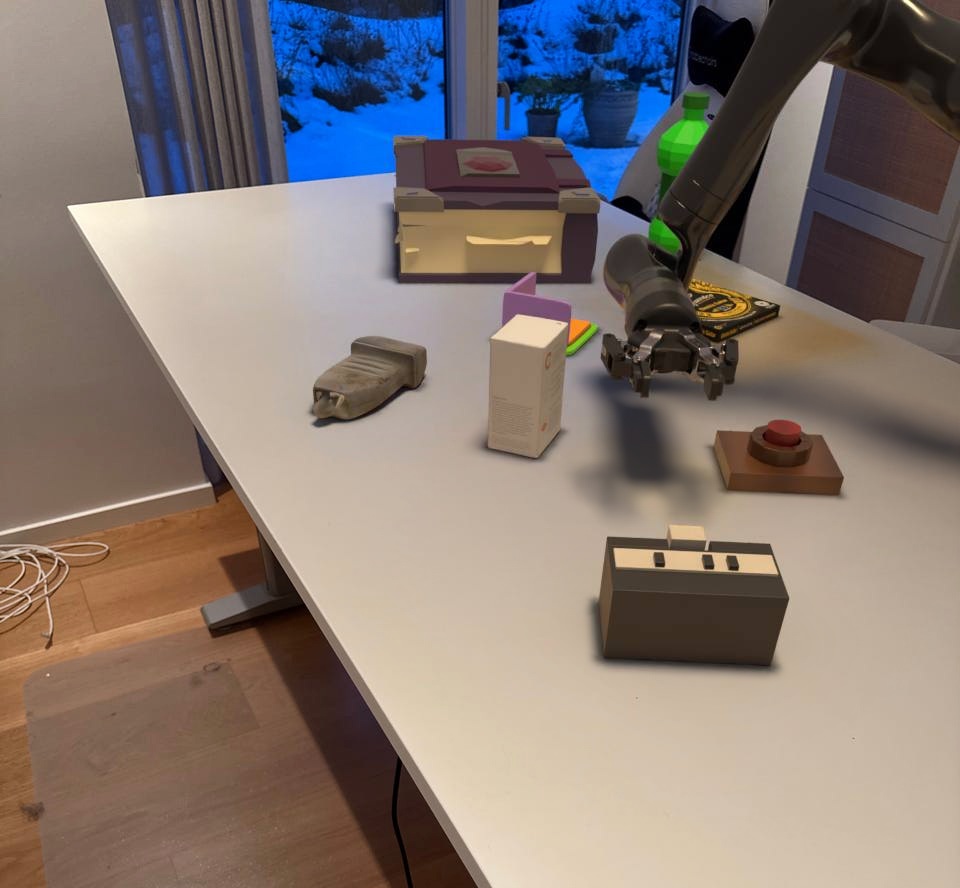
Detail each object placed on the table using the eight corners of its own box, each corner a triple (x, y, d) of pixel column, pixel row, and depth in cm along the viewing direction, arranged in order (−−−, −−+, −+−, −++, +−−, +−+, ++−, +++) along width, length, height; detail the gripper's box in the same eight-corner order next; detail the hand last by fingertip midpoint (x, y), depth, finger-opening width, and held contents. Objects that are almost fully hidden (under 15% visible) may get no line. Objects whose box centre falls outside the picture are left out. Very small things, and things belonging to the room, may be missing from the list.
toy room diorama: (491, 341, 135) (492, 292, 130) (524, 314, 143) (527, 267, 139) (570, 357, 131) (574, 307, 126) (600, 329, 139) (605, 281, 135)
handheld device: (284, 418, 114) (280, 380, 111) (372, 361, 128) (370, 327, 125) (352, 435, 111) (350, 398, 108) (435, 376, 125) (435, 341, 122)
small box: (511, 420, 115) (516, 312, 107) (561, 430, 113) (570, 321, 105) (485, 448, 109) (488, 336, 101) (537, 460, 107) (545, 347, 99)
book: (562, 209, 189) (568, 130, 181) (602, 285, 154) (611, 192, 146) (394, 208, 187) (391, 128, 178) (395, 285, 152) (393, 190, 143)
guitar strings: (719, 330, 135) (630, 300, 144) (717, 342, 136) (629, 312, 145) (780, 305, 144) (693, 278, 153) (777, 316, 145) (691, 289, 154)
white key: (698, 549, 85) (703, 525, 83) (702, 563, 83) (706, 540, 81) (664, 547, 85) (668, 524, 83) (667, 562, 83) (671, 538, 82)
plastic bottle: (644, 264, 164) (666, 98, 148) (643, 246, 172) (663, 87, 156) (703, 268, 163) (731, 102, 147) (699, 249, 171) (725, 90, 155)
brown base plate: (817, 452, 110) (826, 420, 108) (838, 495, 103) (848, 462, 100) (713, 447, 111) (719, 415, 108) (727, 490, 103) (734, 457, 100)
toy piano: (753, 608, 86) (772, 535, 81) (770, 665, 80) (792, 590, 75) (598, 601, 86) (607, 528, 82) (603, 657, 80) (614, 582, 75)
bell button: (793, 434, 106) (797, 420, 105) (801, 449, 103) (804, 434, 102) (761, 433, 106) (764, 418, 105) (767, 448, 103) (771, 433, 102)
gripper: (597, 286, 100) (607, 347, 87) (735, 291, 100) (766, 354, 87) (590, 355, 105) (599, 423, 92) (722, 360, 105) (749, 430, 91)
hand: (680, 389), depth 89 cm, fingers open, 5 cm apart
